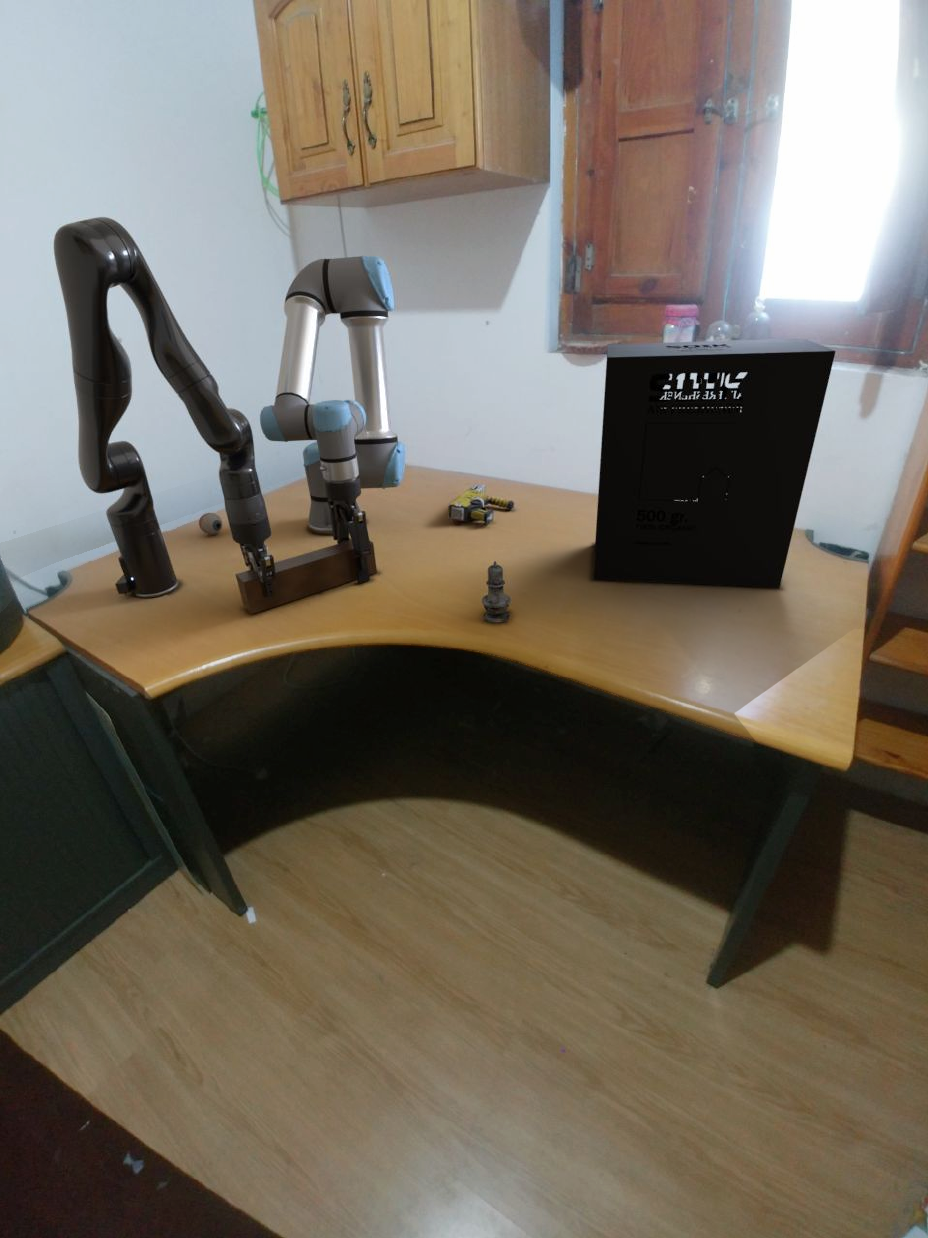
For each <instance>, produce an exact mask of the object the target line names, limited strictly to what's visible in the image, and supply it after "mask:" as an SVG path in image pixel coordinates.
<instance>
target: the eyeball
mask: <svg viewBox="0 0 928 1238" xmlns="http://www.w3.org/2000/svg"><path fill="white" fill-rule="evenodd" d="M198 526H199V528H200V530H201V531H202V532H203V533H204V534H206V535H212V536H214V535H216V534H218V533H220V532H221V531H222V529H223V520H222V518H221V517H220V515H218V514H217V513H214V512H206V513H203V515H201V516H200V517H199V520H198Z"/></svg>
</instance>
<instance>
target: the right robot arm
mask: <svg viewBox="0 0 928 1238" xmlns="http://www.w3.org/2000/svg"><path fill="white" fill-rule="evenodd" d="M394 309H395V297H394V291H393V284H392V281H391V277H390V273H389V270H388V268H387V265H386V263H385V262H384V260H383V259H382V258H381V257H379V256H374V255H373V256H372V255H370V256H369V255H361V256H360V255H359V256H349V257H335V258H320V259H316V260H314V261H312V262H309V263H308V264H307V265H305V266H303V268H302V269H301V270H300V271H299V272H298V273H297V274H296V275H295V277H294V278H293V280H292V282H291V283H290V285H289V287H288V290H287V292H286V295H285V299H284V305H283V312H284V314H285V317H286V322H285V330H284V335H283V336H284V337H283V344H282V351H281V358H280V364H279V373H278V379H277V385H276V391H275V399H274V404H273V405H272V404H270V405H267V406H263V408H262V409H261V410H260V414H259V422H260V423H259V425H260V428H261V431H262V434H263V435H264V437H265V438H266V439H267V440H268V441H271V442H285V443H287V442H301V441H303V442H304V441H314V442H312V443H309V444H308V445H307V446H305V447H304V448H303V450H302V457H303V467H304V471H305V477H306V481H307V486H308V492H309V498H310V507H309V513H308V521H307V524H308V528H309V529H308V530H310V531H311V532H312V533H314V534H317V535H323V536H324V535H325V536H327V535H329V536H331V535H332V537H333V540H334V541H336V544H339V543H343V542H346V541H350V540H352V544H353V547H354V550H355V554H356V555H354V556H353V557H354V559H355V566H356V572H357V579H356V580H357V583H358V584H362V583H365V582H367V581H371V576H370V575H369V569H368V562H367V555H370V554H371V547H370V541H371V540H370V538H369V537H370V536H369V532H368V531H369V530H368V526H367V514H366V512H365V510H361V508H360V505H359V504H358V501H357V499H358V497H360V496H361V495H362V490H364V489H383V490H385V489H389V488H397V487H398V486H400V485H401V484H402V481H403V478H404V475H405V466H406V448H405V444H404V442H402V441H399V439H398V434H397V433H396V432H395V431H394V430H393V429H392V425H391V423H392V422H391V413H390V410H391V409H390V401H389V388H388V387H389V386H388V376H387V375H388V374H387V362H386V350H385V349H386V348H385V340H384V326H385V325H386V324H387V322H389V312H392V311H393V310H394ZM331 314H332V315H334V314H335V315H336V314H337V315H338V314H339V317H340V322H341V323H342V324H343V325H344V326H345V327H346V329H347V334H348V345H349V354H350V364H351V365H350V366H351V374H352V375H351V376H352V383H353V385H352V386H353V394H354V400H352V399H345V400H341V399H331V400H323V401H320V402H317V403H314V404H311V396H312V390H313V389H312V388H313V381H314V373H315V367H316V360H317V350H318V344H319V343H318V342H319V337H320V336H319V335H320V330H321V329H320V328H321V327H322V326H323V325H324V323H325V321H326V316H327V315H331Z"/></svg>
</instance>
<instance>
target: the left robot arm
mask: <svg viewBox="0 0 928 1238" xmlns="http://www.w3.org/2000/svg"><path fill="white" fill-rule="evenodd" d="M53 255H54V261H55V266H56V267H55V268H56V271H57V276H58V281H59V286H60V290H61V293H62V298H63V303H64V307H65V312H66V318H67V327H68V334H69V342H70V350H71V366H72V374H73V375H72V376H73V384H74V390H75V397H76V406H77V417H78V418H77V419H78V441H77V442H78V443H77V445H78V447H77V450H78V452H77V456H78V460H77V461H78V466H79V471H80V474H81V477H82V479H83V482H84V483H85V485H86V487H87V488H88V489H89V490H90V491H92V492H93V493H95V494H101V495H102V494H103V495H104V494H108V493H113V492H116V491H121V490H123V491H122V494H121V495H120V497H118V499H117V500H116V501H115V502H114V503H112V504H111V505H109V506H108V507H107V509H106V512H105V515H106V518H107V522H108V524H109V526H110V529H111V532H112V535H113V537H114V540H115V542H116V546H117V548H118V551H119V553H120V555H119V557H118V558H117V560H118V563H119V565H120V569H121V571H122V573H123V574H122V575H121V576H120V577H119V579H118V580H117V581H116V582H115V584H114V586H115V587H116V590H117V593H118V595H125V596H127V595H128V594H130V595H131V597H133V598H134V597H138V598H140V599H151V598H157V597H162V596H164V595H167V594H169V593H172V592H173V591H175V590H176V589H177V588H178V587H179V581H178V579H177V576H176V573H175V570H174V566H173V564H172V561H171V556H170V554H169V551H168V548H167V544H166V542H165V538H164V535H163V533H162V529H161V526H160V523H159V520H158V518H157V514H156V511H155V508H154V506H155V505H154V498H153V495H152V492H151V488H150V484H149V480H148V477H147V472H146V468H145V465H144V462H143V460H142V457H141V455H140V453H139V451H138V450H137V448H136V447H135V446H134V444H132V443H131V442H129V441H127V440H118V441H113V442H110V439H111V436H112V433H113V432H114V430H115V429H116V427H117V425H118V424H119V422H120V421H121V420H122V418H123V417H124V414H125V413H126V411H127V410H128V408H129V406H130V403H131V400H132V397H133V372H132V371H133V370H132V363H131V360H130V357H129V354H128V353H127V351H126V349H125V348H124V346H123V345H122V342H120V340H119V339H118V337H117V336H116V335H115V333H114V332H113V329H112V328H111V324H110V320H109V311H108V310H109V309H108V294H109V290H110V289H113V288H116V287H117V286H120V287H121V288H122V290H123V292H125V293H126V295H127V296H128V297H129V298H130V300H131V301H132V303H133V304H134V306H135V309H137V311H138V313H139V316H140V319H141V321H142V323H143V327H144V330H145V333H146V337H147V342H148V345H149V349H150V352H151V355H152V358H153V361H154V363H155V366H156V367H157V369H158V370H159V372H160V373H161V375H162V376H163V377H164V379H165V381H166V382H167V383H168V384H169V386H170V387H171V389H172V390H173V391H174V392H175V393H176V395H177V396H178V398H179V399H180V400H181V402H182V403H183V404H184V406H185V408H186V410H187V413H188V415H189V417H190V419H191V420H192V422H193V425H194V426H195V428H196V430H197V432H198V433H199V435H200V436H201V438H202V439H203V441H204V442H205V444H207V446H208V447H210V449H211V450H213V451H214V452H216V453H218V455H219V460H220V461H219V462H220V464H219V468H218V479H219V483H220V487H221V491H222V495H223V496H222V497H223V501H224V509H225V513H226V517H227V521H228V525H229V529H230V533H231V537H232V540H233V542H234V543H236V544H239V547H240V550H241V554H242V557H243V560H244V561H243V562H244V564H245V566H246V567H248V570H252V569H254V570H255V572H258V575H259V578H260V581H261V584H262V589H263V593H264V596H265V597H266V598H269V597H272V596H274V595H275V589H274V585H273V580H276V573H275V565H274V563H275V559H274V558H275V557H274V556H273V554H270V551H269V548H268V546H267V545H265V542H266V540H268V539H270V538H271V536H272V530H271V525H270V524H271V523H270V519H269V516H268V515H269V514H268V511H267V506H266V502H265V499H264V496H263V492H262V488H261V484H260V479H259V475H258V472H257V468H256V456H255V455H256V454H255V453H256V452H255V444H254V443H255V442H254V434H253V430H252V427H251V423H250V421H249V419H248V418H247V417H246V416H245V414H244V413H243V412H241V411H240V410H238V409H236V408H232V407H227V405H226V404H225V402H224V401H223V399H222V397H221V396H220V393H219V392H220V388H219V384H218V382H217V381H216V379H215V377H214V375H213V374H211V372H210V370H209V368H208V367H207V366H206V364H205V363H204V361H203V359H202V358H201V357H200V355H199V354H198V352H197V351H196V350H195V349H194V347H193V345H192V344H191V342H190V341H189V339H188V338H187V335H186V334H185V333H184V330H183V329H182V328H181V326H180V324H179V323H178V320H177V318H176V317H175V315H174V313H173V311H172V309H171V307H170V304H169V303H168V301H167V299H166V297H165V295H164V293H163V291H162V290H161V287H160V286H159V283H158V282H157V280H156V278H155V276H154V274H153V272H152V270H151V269H150V266H149V265H148V263H147V261H146V258H145V257H144V255H143V253H142V251H141V250H140V248H139V246H138V245H137V243H136V241H135V240H134V238H133V236H132V235H131V234H130V232H129V231H128V230H127V229H126V228H125V227H124V226H123V225H122V224H121V223H120V222H118V221H117V220H115V219H113V218H110V217H108V216H107V217H106V216H98V217H97V216H96V217H93V218H88V219H83V220H78V221H75V222H70V223H66V224H64V225H62V226H61V227H59V228H58V229H57V230H56V232H55V234H54V238H53ZM109 442H110V443H109ZM267 573H268V574H269V575H266V574H267Z"/></svg>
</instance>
